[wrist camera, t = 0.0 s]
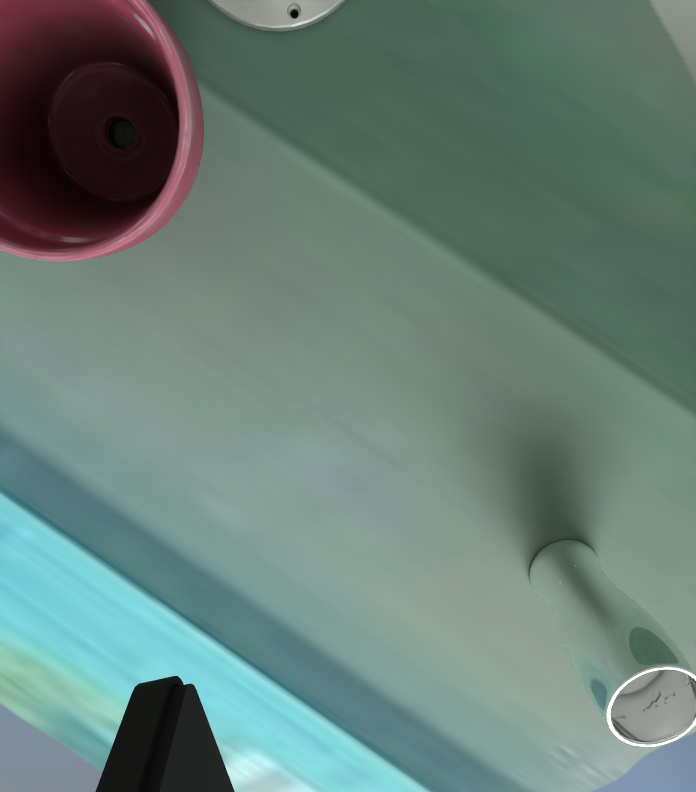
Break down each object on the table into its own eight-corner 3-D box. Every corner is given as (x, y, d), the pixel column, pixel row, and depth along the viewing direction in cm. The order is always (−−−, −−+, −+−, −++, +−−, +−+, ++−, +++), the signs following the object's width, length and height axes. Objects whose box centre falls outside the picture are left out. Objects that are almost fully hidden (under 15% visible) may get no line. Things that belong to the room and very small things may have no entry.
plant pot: (59, 268, 42) (-45, 295, 30) (-30, 49, 37) (-195, -25, 25) (254, 216, 41) (230, 221, 29) (188, -12, 37) (127, -117, 25)
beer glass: (618, 555, 52) (733, 689, 38) (570, 614, 53) (663, 764, 39) (555, 521, 50) (650, 647, 36) (508, 583, 52) (581, 726, 38)
